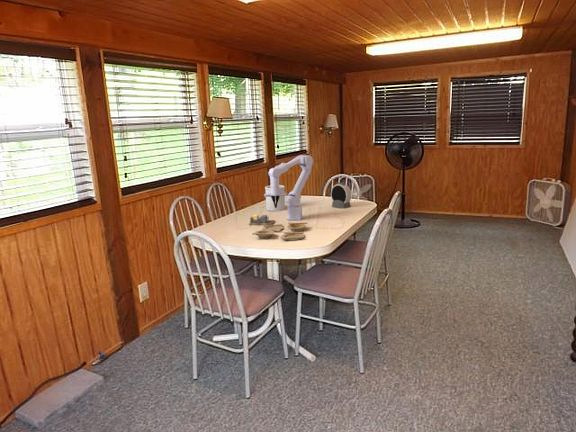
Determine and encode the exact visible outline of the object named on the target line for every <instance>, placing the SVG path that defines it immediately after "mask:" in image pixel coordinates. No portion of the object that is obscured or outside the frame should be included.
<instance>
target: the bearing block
mask: <svg viewBox="0 0 576 432" xmlns="http://www.w3.org/2000/svg"><path fill="white" fill-rule="evenodd" d="M259 217H260V219H261V223H266V220H265V217H268V214H263V215H261V216H259Z"/></svg>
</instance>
